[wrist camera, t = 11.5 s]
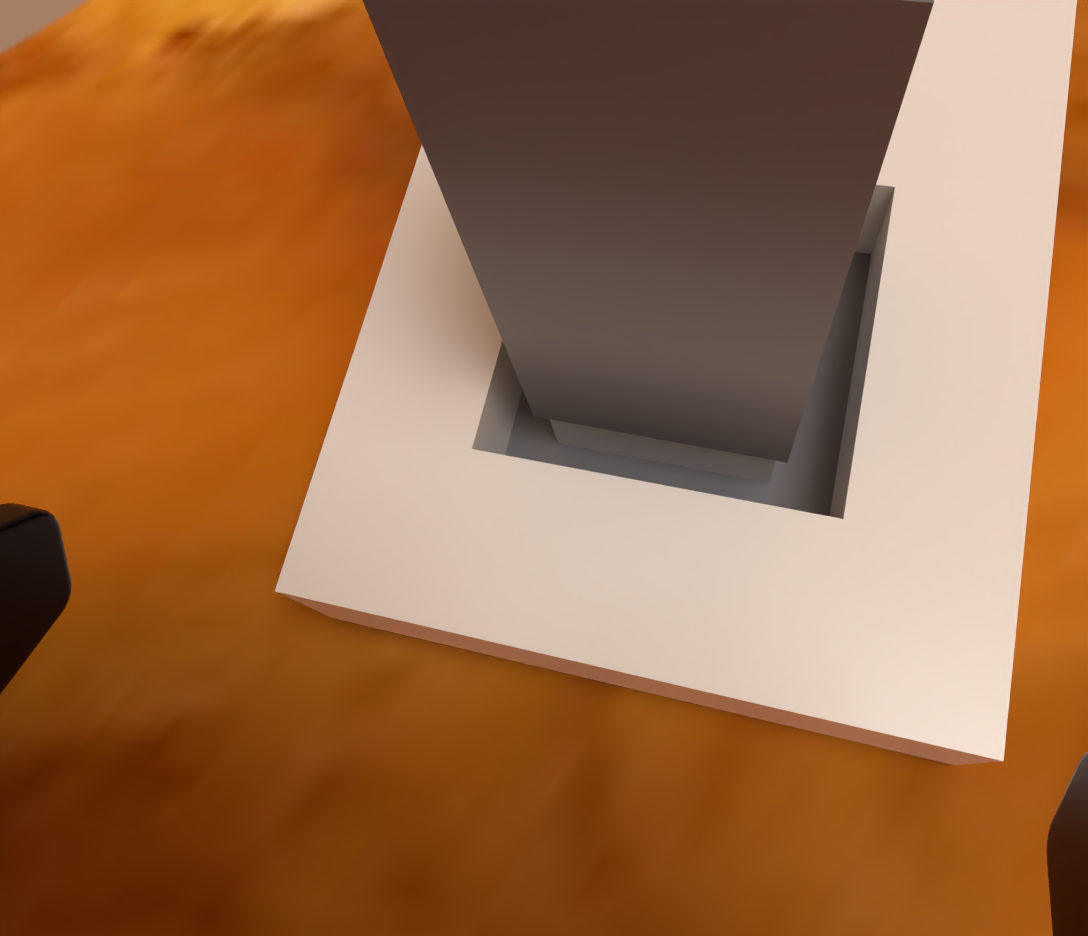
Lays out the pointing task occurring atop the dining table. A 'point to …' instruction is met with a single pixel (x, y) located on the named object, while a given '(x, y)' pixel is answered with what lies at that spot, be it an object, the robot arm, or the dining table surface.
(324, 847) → the dining table surface
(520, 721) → the dining table surface
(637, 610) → the power strip
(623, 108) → the plug
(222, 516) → the dining table surface
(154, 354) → the dining table surface
